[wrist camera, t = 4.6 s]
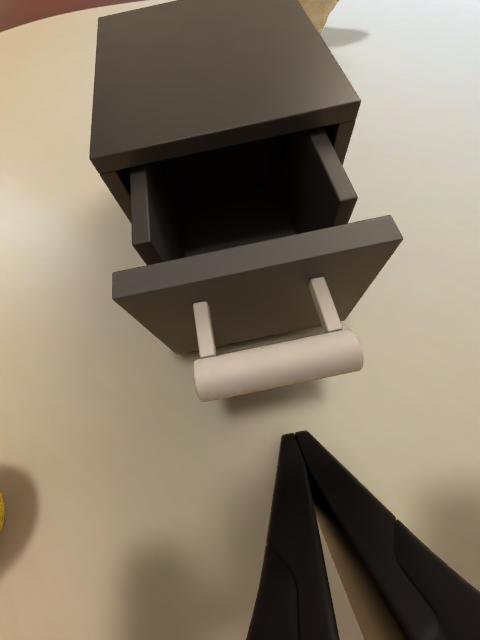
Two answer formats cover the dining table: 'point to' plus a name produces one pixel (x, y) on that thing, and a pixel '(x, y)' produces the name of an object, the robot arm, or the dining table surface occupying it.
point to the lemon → (1, 511)
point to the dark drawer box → (210, 83)
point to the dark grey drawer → (252, 260)
